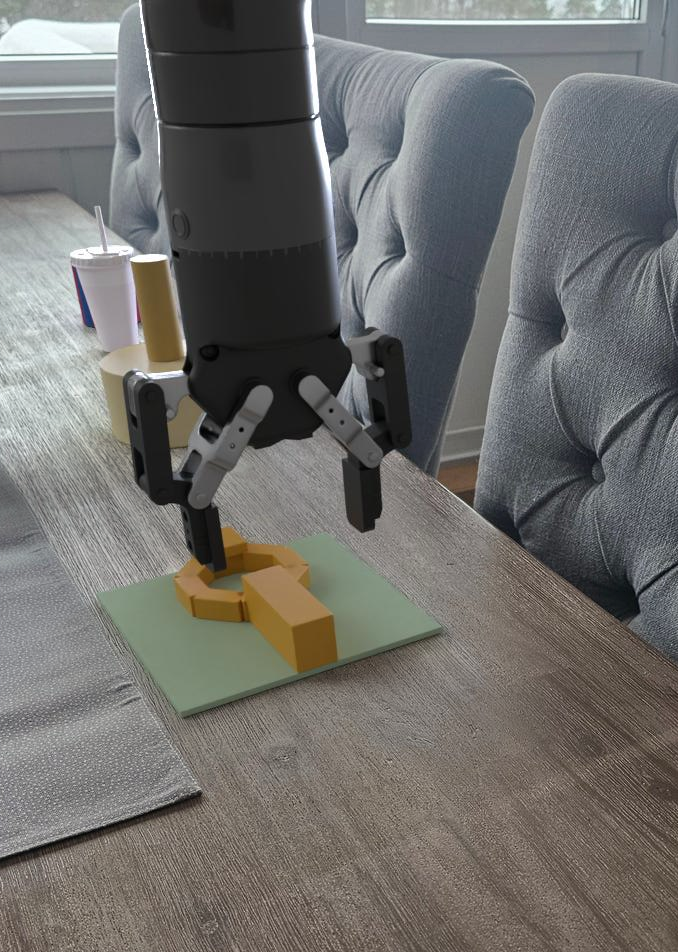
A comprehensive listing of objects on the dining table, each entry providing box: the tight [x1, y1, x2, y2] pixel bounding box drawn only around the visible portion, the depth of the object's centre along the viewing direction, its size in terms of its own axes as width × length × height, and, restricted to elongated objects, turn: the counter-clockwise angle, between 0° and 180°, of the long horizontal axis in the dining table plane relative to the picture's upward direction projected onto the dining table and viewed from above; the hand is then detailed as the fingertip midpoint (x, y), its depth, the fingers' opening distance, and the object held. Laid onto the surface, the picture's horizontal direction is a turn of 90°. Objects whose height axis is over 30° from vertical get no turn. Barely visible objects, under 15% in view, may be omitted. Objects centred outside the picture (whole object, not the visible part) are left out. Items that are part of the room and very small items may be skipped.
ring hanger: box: [174, 525, 338, 673], centre depth 68 cm, size 16×8×3 cm, turn 32°
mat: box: [95, 531, 443, 719], centre depth 69 cm, size 16×16×1 cm
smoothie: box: [69, 205, 140, 353], centre depth 115 cm, size 6×6×14 cm
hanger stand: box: [98, 253, 203, 449], centre depth 94 cm, size 11×11×14 cm
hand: (289, 546), depth 60 cm, fingers open, 8 cm apart
